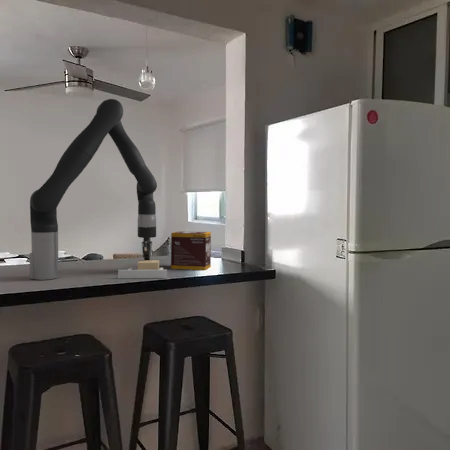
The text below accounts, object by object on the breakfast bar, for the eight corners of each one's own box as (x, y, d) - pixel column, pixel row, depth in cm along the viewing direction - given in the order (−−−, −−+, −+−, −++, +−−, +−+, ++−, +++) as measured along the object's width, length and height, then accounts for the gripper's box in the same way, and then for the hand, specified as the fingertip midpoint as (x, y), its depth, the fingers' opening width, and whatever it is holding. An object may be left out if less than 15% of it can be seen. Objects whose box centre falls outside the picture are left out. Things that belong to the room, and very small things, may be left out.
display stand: (118, 278, 167) (118, 270, 167) (123, 272, 180) (123, 265, 180) (166, 278, 168) (166, 270, 168) (168, 272, 181) (168, 265, 181)
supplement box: (205, 270, 187) (205, 233, 186) (170, 269, 190) (170, 232, 190) (211, 266, 197) (211, 231, 197) (178, 265, 201) (178, 230, 200)
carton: (137, 275, 174) (137, 262, 173) (139, 272, 181) (139, 260, 181) (158, 275, 174) (158, 262, 174) (159, 272, 182) (159, 260, 182)
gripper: (139, 224, 189) (139, 265, 190) (135, 226, 176) (135, 270, 177) (157, 224, 190) (157, 265, 191) (154, 226, 176) (155, 270, 177)
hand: (147, 267), depth 184 cm, fingers closed
